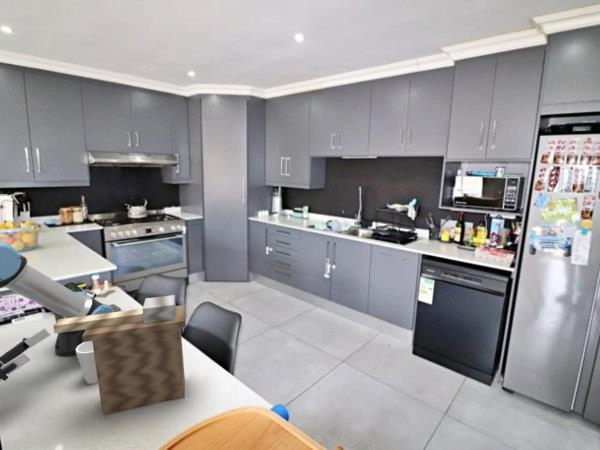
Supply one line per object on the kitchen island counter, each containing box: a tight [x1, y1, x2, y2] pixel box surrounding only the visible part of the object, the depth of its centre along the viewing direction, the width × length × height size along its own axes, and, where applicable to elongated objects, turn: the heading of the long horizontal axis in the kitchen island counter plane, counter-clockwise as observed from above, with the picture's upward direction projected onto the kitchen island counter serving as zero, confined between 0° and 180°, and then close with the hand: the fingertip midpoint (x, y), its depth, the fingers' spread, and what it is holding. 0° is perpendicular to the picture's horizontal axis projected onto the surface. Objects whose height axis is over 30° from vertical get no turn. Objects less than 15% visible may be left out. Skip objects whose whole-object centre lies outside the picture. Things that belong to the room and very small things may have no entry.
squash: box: [63, 281, 84, 292], centre depth 171 cm, size 14×15×15 cm
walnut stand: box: [82, 304, 187, 416], centre depth 107 cm, size 28×12×28 cm, turn 109°
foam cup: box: [76, 341, 98, 385], centre depth 117 cm, size 10×9×13 cm
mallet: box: [53, 294, 177, 335], centre depth 102 cm, size 33×8×5 cm, turn 109°
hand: (38, 342), depth 96 cm, fingers open, 13 cm apart
